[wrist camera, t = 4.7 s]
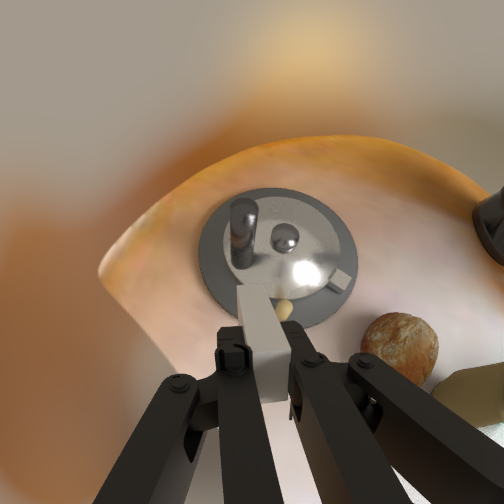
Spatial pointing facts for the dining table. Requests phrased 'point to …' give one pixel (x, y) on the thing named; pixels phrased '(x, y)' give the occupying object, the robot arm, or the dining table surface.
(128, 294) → the dining table surface
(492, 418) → the squeeze bottle
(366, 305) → the dining table surface
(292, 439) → the dining table surface
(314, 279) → the flange plate
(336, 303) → the base pad
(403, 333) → the bread roll
